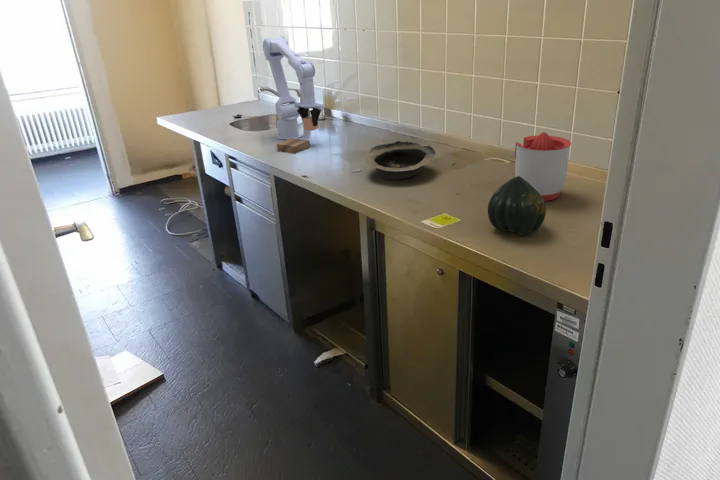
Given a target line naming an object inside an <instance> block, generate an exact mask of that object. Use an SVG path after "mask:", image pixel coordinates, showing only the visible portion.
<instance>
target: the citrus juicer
mask: <svg viewBox="0 0 720 480" xmlns="http://www.w3.org/2000/svg"><path fill="white" fill-rule="evenodd" d="M571 145H572V142H571V141H570V140H569V139H567V138H564V137H561V136H554V135H549V134H548V133H547V132H545V131H543V132H541V133H539V134H538V135H529V136H525V137H523V145H522V143H520V142H518V141H516V142H515V150H514V151H511V153H510V157H511V156H512V157H513V156H514V159H515V167H514V168H515V169H514V175H515V176H514V177H517V176H520V177H521V178H523V179H524V180H525V181H527V182H528V183H529V184H530V185H531V186H532V187H533V188H535V189H536V190H537V191H538V192H539V193H540V195H541V196H542V197H543V199H544V201H545V202H548V201H551V200H555V199H557V198H558V197H559V195H560V194H561V192H562V190H563V187H564V184H565V182H566V177H567V172H568V164H569V155H570V146H571Z"/></svg>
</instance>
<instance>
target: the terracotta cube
mask: <svg viewBox="0 0 720 480" xmlns="http://www.w3.org/2000/svg"><path fill="white" fill-rule="evenodd" d="M302 123H303V130H304V131H310V132H313V131H316V130H318V129H319V128H320V127H319V124H318V125H317V126H313V122H312V116H311V115H308V117H305V118H303V120H302Z"/></svg>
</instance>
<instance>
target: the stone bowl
mask: <svg viewBox="0 0 720 480" xmlns="http://www.w3.org/2000/svg"><path fill="white" fill-rule="evenodd" d="M435 156H436V150H435V149H434V148H433V146H431V145H424V146H423V145H420V144H419V143H416V142H411V141H409V140H408V141H401V140H396V141H395V142H392V143H387V144H386V143H383V144H380V145H374V146H373V147H371V148H370V150H369V151H368V154H367V155H365V159H366V164H367V165H368V166H369V167H371V168H374V169H375V171H376V172H377V174H378V175H379V176H380V177H382V178H383V179H385V180H391V181H392V180H393V181H402V180H404V179H408V178H410V177H413V176H415V175H417V174H419V173H420V172H421V171H423V170H424V168H425V167H426V166H427V165H428V164H429V163H430V162H432V161H433V159H434V158H435Z"/></svg>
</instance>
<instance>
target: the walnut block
mask: <svg viewBox="0 0 720 480" xmlns="http://www.w3.org/2000/svg"><path fill="white" fill-rule="evenodd" d="M310 141H311V140H309V139H302V138H297V139H294V138H291V139H289V140H283V141H282V142H277V143H276V149H277V151H278V152H280V151H282V153H287V152H288V154H294V155H296V154H298V153H300V152H303V151H305V150H308V149H309V148H310V149H311V142H310Z"/></svg>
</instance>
